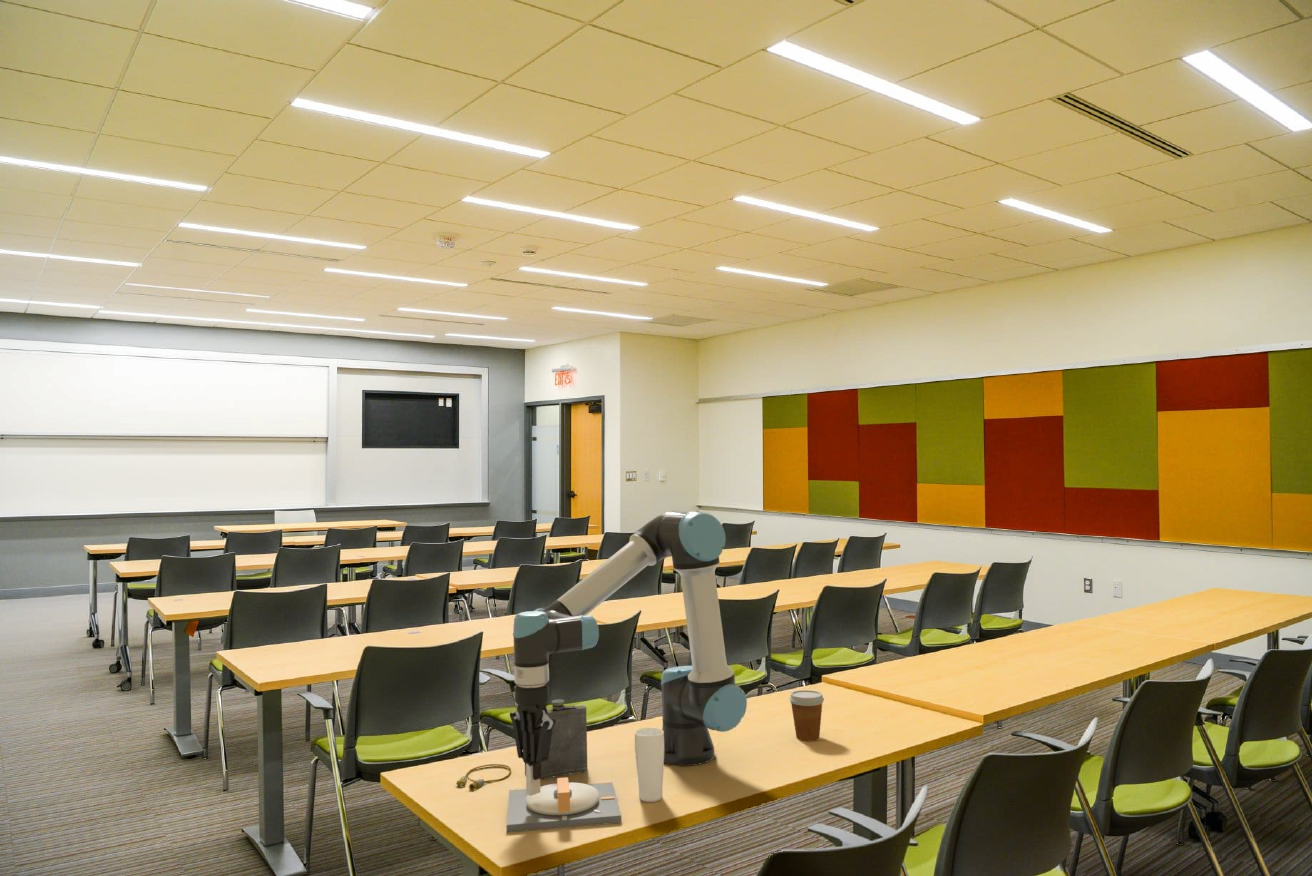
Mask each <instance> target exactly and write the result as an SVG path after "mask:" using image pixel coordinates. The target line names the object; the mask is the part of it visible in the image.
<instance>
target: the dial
mask: <svg viewBox="0 0 1312 876" xmlns="http://www.w3.org/2000/svg"><path fill="white" fill-rule="evenodd" d="M587 784H588V783H583V782H582V783H581V782H573V781H571V782H569V777H558V778H557V777H556V783H550V784H545V785H543V786H540V793H537V794H535V795H532V796H530V795H527V798H526V804H527V807H528V808H529V809H530V810H532V811H534V812H536V813H540V814H545V815H568V814H575V813H579V812H583V811H585V810H588V809H590V808H592V807H594V806H595V805H596V804H597V803H598V801H599V792H598V790H597V789H596V788H594V787H593V786H590V785H587Z"/></svg>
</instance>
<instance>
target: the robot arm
mask: <svg viewBox="0 0 1312 876" xmlns="http://www.w3.org/2000/svg"><path fill="white" fill-rule="evenodd" d="M725 545H726V533H725V530H724V527H723V525H722V523H721V522H720V521H719V519H718V518H716V517H715V516H714V515H713V514H710V513H707V512H703V511H699V510H698V511H697V510H695V511H694V510H692V511H691V510H689V511H688V510H687V511H680V510H670V511H667V512H663V513H661V514H659V515H657V516H656V517H654V518H652V519H651V520H650V521H649V522H647V523H645V524H644V525H643V526H641V527H640V528H639V529H638V530H636V531H635V532H634V533H633V534H631V535H630V537H629V541H628V542H627V543H626V544H625V545H624V546H623V547H621V548H620V549H619V550H617V552H615V553H614V554H612V555H611V556H610V557H609V558H608V559H606V560H605V561H604V562H602V563H601V564H600V565H598V566H597V568H595V569H593V571H591V572H590V573H588V575H586V576H585V577H584V578H583V579H581V580H580V581H579V582H577V583H576V584H575V585H574V586H573V587H571V588H569V589H568V591H566V592H565V593H563V595H561V596H559V597H558V599H556V600H555V601H553V602H552V603H551V604H549V605H548V606H547V607H540V608H536V609H534V610H533V611H531V610H529V611H522V612H519V613H517V614H516V615H515V616H514V619H513V630H512V631H513V632H512V636H513V658H514V659H513V661H514V663H513V664H514V669H513V670H514V672H513V673H514V684H516V685H515V686H514V688H513V689H514V702H515V704H517V706H516V710H515V711H512V712H510V713H509V717H510V720H511V723H512V726H513V727H512V729H513V732H514V733H513V734H514V740H515V746H516V753H517V758H519V759H522V760H523V763H524V776H525V780H526V781H525V785H526V787H525V789H526V794H527V795H530V796H532V795H535V794H537V793H540V787H541V780H540V778H541V764H542V763H543V762H546V761H548V758H549V751H550V744H551V737H552V730H553V728H554V726H555V723H556V721H555V719H550V718H549V717H548V715H547V713H548V712H547V710H548V709H547V703H548V701H549V700H550V685H549V681H550V669H549V665H550V664H549V662H550V660H549V655H550V654H551V655H552V654H557V653H558V654H559V653H568V652H574V651H584V650H587V649H592V648H594V647H595V646H596V645H597V644H598V641H599V638H600V631H599V630H600V628H599V625H598V622H597V620H596V619H595V617H593V615H591V614H590V613H591V612H592V611H594V610H595V609H596V608H597V607H598V606H600V605H601V604H602V603H603V602H604V601H606V600H607V599H608V598H609V597H611V596H612V595H613V594H614V593H616V592H617V591H618V590H619V589H620V588H622V587H623V586H624V585H625V584H627V583H628V582H629V581H630V580H631V579H633V578H634V577H636V576H637V575H638V574H639V573H640V572H641V571H643V570H644V569H646V567H647V566H651V567H652V566H655V565H656V564H657V563H659V562H660V561H661V560H664V559H666V558H670V557H671V559H672V560H671V561H672V568H673V570H675V572H676V573H678V574H679V575H680V580H681V590H682V596H683V597H682V598H683V603H684V604H683V605H684V611H685V612H684V613H685V621H686V628H687V634H688V635H687V636H688V642H689V650H690V657H691V658H690V659H691V665H683V666H682V665H681V666H680V665H679V666H674V667H669V668H666V669H664V670H663V672H662V674H661V681H660V682H661V683H660V686H661V705H662V707H661V711H662V714H661V715H662V728H661V730H663V731H664V764H667V763H669V764H668V765H672V764H673V765H675V766H696V765H695V764H697V765H700V764H699V763H702V764H705V763H707V762H706V761H708V762H710V761H712V760H713V759H714V758H715V746H714V743H713V740H712V738H711V734H710V731H709V730H711V731H717V732H719V733H720V732H722V733H723V732H724V733H725V732H729V731H732V730H733V729H734V728H735V729H736V727H737V726H738V725H739V724H740V723H741V721H742V718H744V716H745V715H746V710H747V705H748V702H747V696H746V692H745V691H744V690H743V689H742V688H741V687H740V685H736V684H737V683H736V678H735V677H736V676H735V671H734V669H733V668H732V667H731V666H729V665H728V664H727V656H726V647H725V641H724V639H725V638H724V632H723V631H724V630H723V623H722V616H721V610H720V602H719V595H718V586H717V578H716V572H715V571H716V569H717V567H719V565H720V563H721V562H720V556H721V555H722V553H723V549H725V547H726V546H725ZM713 757H714V758H713ZM712 758H713V759H712ZM711 759H712V760H711ZM673 765H672V766H673Z"/></svg>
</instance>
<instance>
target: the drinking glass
mask: <svg viewBox="0 0 1312 876" xmlns="http://www.w3.org/2000/svg"><path fill="white" fill-rule="evenodd" d="M634 752H635V763H636V773H637V782H638V797H639V799H640V800H641V801H642V802H646V803H655V802H658V801H660V800H662V798H663V784H664V783H663V782H664V764H665V763H664V731H663V730H662V728H658V727H643V728H639V729H636V730H635V731H634Z"/></svg>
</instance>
